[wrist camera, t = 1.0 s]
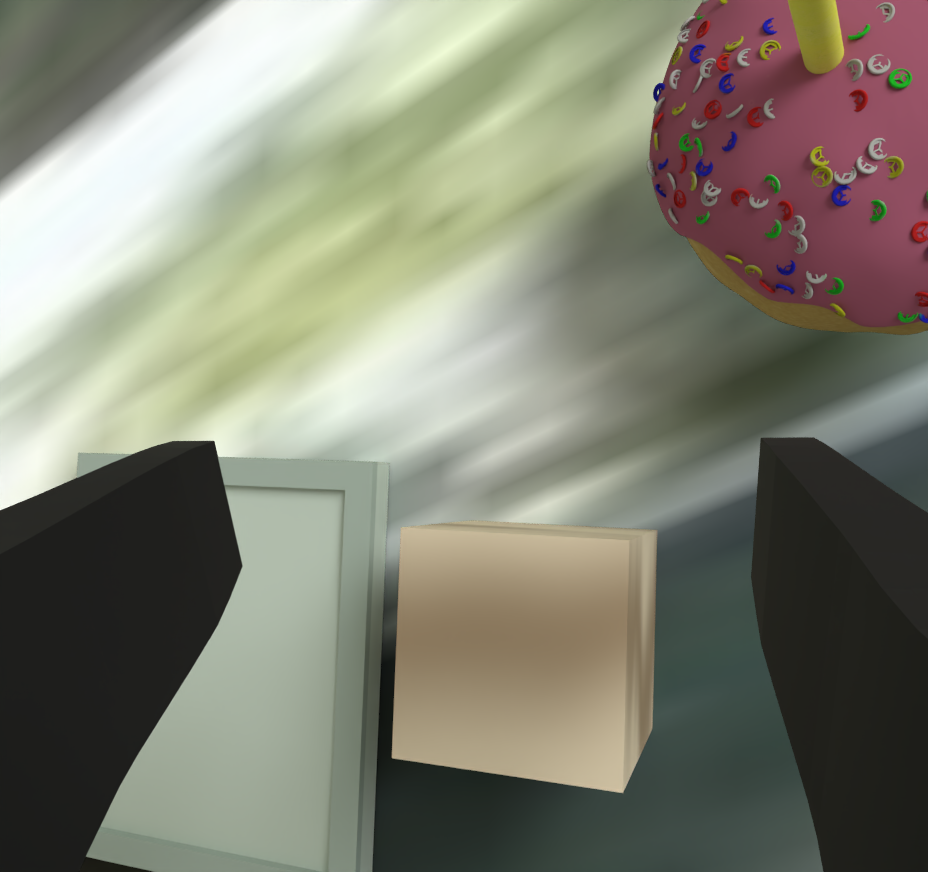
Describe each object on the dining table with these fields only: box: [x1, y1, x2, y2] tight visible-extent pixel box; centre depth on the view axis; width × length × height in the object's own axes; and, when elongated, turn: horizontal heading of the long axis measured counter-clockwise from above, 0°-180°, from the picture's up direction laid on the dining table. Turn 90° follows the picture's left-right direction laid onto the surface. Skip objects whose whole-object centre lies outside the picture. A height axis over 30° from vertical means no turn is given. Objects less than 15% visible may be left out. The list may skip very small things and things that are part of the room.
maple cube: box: [392, 520, 657, 793], centre depth 21 cm, size 5×5×5 cm
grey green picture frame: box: [77, 453, 389, 872], centre depth 25 cm, size 12×10×1 cm
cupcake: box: [647, 0, 928, 335], centre depth 15 cm, size 9×8×12 cm
